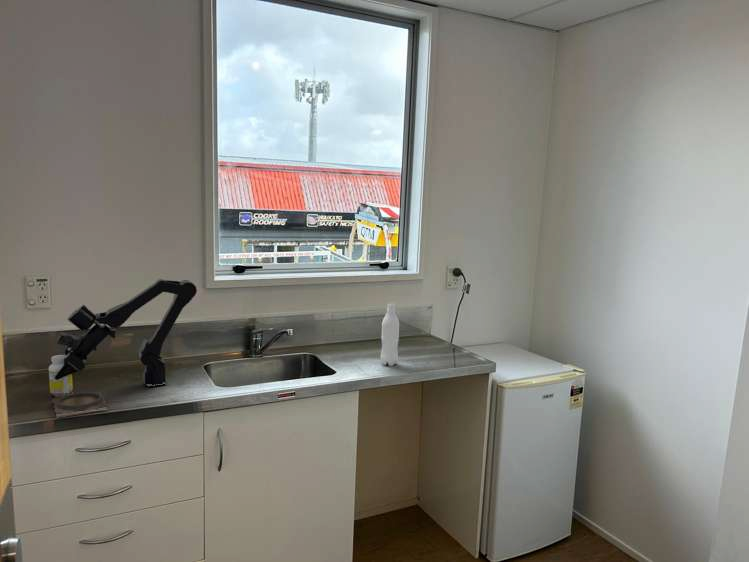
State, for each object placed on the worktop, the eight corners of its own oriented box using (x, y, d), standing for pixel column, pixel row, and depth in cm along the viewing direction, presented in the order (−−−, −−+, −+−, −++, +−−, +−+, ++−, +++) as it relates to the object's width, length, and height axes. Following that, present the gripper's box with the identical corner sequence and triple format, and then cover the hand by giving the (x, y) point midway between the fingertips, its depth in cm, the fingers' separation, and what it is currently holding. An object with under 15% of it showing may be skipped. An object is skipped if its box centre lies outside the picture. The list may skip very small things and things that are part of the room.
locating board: (101, 396, 192) (101, 388, 191) (107, 410, 180) (107, 402, 179) (52, 403, 184) (52, 395, 184) (56, 418, 172) (55, 409, 172)
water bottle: (391, 367, 233) (393, 306, 230) (376, 364, 238) (378, 304, 234) (401, 364, 239) (403, 304, 235) (387, 360, 243) (389, 301, 240)
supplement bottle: (67, 389, 197) (65, 352, 195) (76, 394, 193) (74, 356, 191) (46, 394, 192) (44, 356, 190) (55, 399, 188) (53, 360, 186)
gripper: (73, 317, 199) (37, 352, 196) (71, 330, 182) (32, 367, 179) (99, 338, 204) (64, 372, 200) (100, 352, 187) (62, 389, 184)
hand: (56, 374), depth 191 cm, fingers open, 9 cm apart
